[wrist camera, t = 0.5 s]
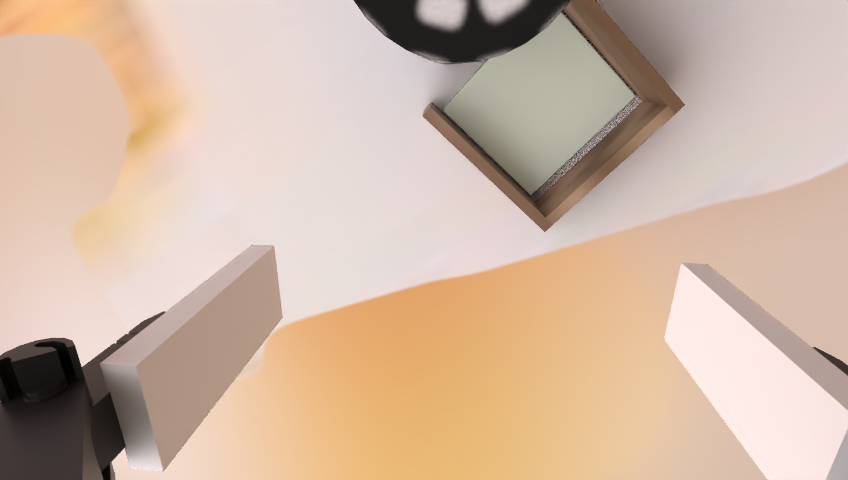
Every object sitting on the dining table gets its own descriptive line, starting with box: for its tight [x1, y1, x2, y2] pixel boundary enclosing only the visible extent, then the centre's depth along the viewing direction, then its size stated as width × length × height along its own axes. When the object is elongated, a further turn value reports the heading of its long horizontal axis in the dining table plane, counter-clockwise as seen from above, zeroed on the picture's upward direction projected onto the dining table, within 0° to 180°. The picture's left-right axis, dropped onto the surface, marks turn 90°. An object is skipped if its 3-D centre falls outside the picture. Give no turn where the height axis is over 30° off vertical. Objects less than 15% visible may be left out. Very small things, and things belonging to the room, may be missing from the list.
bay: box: [423, 0, 685, 232], centre depth 32 cm, size 13×13×4 cm
